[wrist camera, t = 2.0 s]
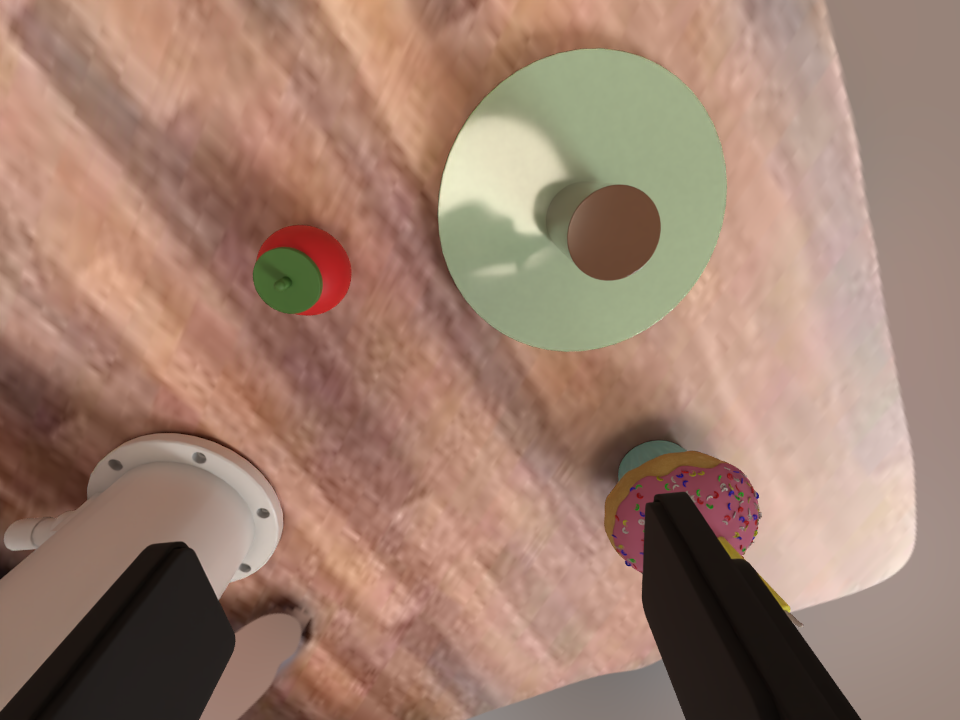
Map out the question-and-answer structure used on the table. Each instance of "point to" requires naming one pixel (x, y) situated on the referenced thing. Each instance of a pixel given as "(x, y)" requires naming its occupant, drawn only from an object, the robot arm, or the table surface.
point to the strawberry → (302, 271)
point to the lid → (582, 199)
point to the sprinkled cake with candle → (703, 479)
